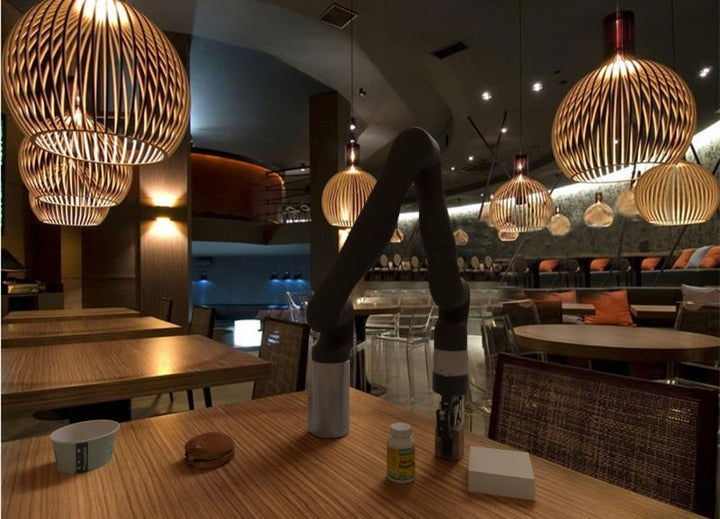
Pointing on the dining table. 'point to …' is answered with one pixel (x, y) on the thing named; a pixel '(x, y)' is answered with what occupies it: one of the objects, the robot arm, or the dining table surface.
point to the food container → (84, 445)
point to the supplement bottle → (400, 454)
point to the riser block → (501, 473)
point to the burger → (209, 450)
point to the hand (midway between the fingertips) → (449, 449)
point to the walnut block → (456, 442)
